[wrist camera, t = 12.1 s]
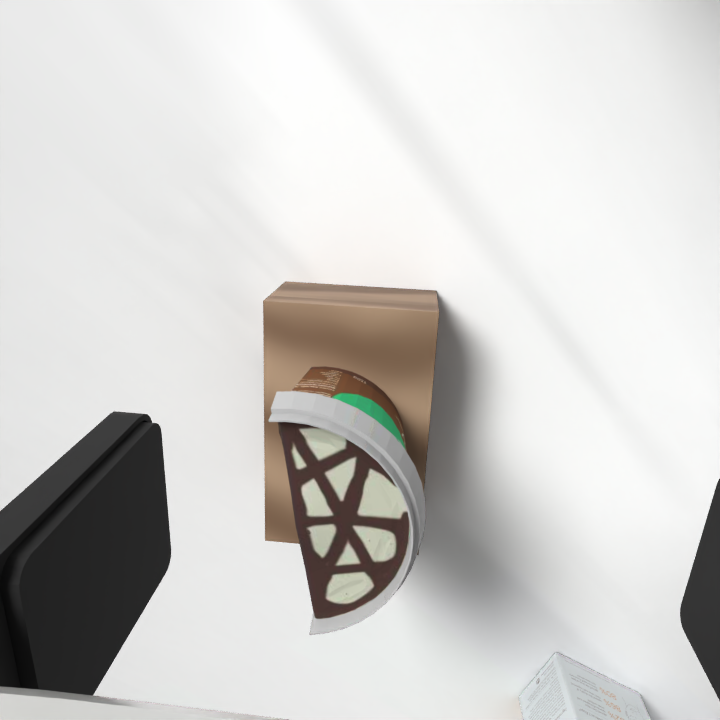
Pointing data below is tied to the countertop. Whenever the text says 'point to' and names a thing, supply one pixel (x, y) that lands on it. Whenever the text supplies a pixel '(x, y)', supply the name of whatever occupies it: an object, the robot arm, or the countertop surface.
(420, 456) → the bridge shelf
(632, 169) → the countertop surface
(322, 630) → the food container
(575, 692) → the small box
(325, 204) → the countertop surface
